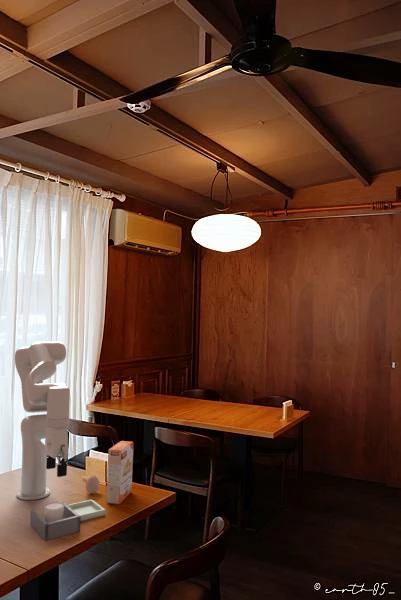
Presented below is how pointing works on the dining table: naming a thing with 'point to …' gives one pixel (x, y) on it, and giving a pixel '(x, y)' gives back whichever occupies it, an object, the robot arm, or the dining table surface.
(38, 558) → the dining table surface
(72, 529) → the bay
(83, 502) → the tray
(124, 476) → the cracker box
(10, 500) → the dining table surface
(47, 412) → the robot arm
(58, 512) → the white cylinder
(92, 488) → the egg
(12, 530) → the dining table surface
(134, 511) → the dining table surface
